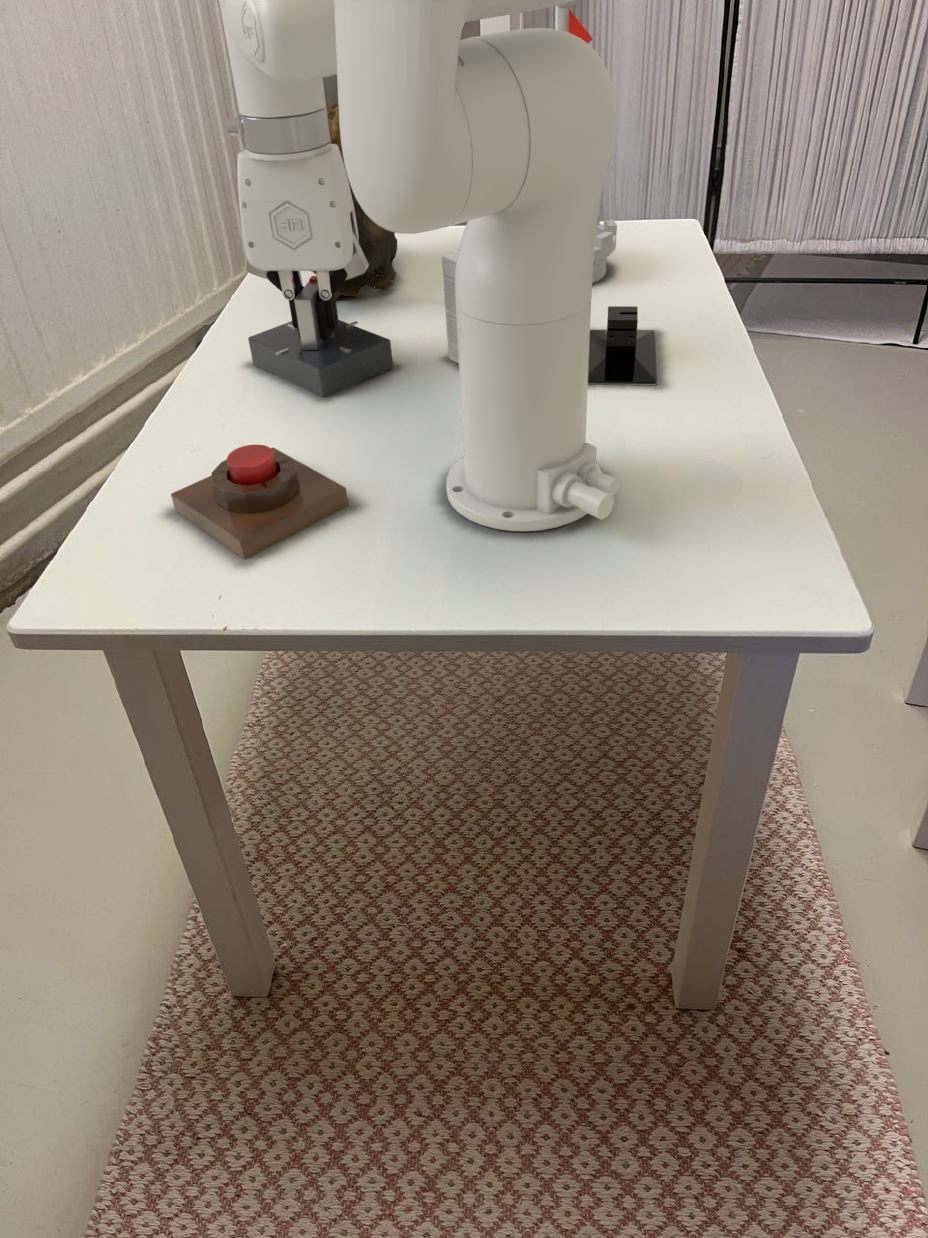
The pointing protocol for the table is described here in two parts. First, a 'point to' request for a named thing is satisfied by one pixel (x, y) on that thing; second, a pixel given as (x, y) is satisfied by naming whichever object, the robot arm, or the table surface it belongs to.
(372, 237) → the pottery vessel
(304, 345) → the grey rectangular block
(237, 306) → the table surface
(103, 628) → the table surface
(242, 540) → the button block
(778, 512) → the table surface
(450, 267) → the small box
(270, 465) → the button
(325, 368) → the dial switch base
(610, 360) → the black stand
